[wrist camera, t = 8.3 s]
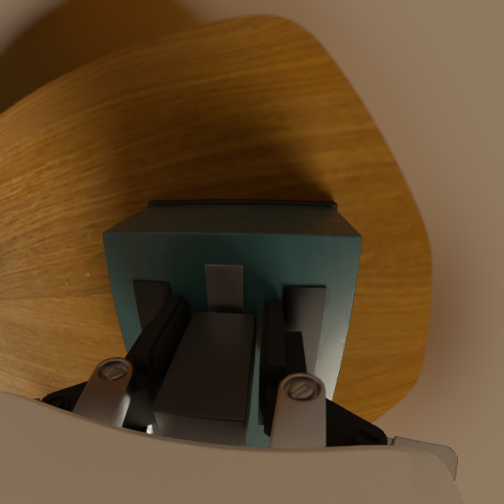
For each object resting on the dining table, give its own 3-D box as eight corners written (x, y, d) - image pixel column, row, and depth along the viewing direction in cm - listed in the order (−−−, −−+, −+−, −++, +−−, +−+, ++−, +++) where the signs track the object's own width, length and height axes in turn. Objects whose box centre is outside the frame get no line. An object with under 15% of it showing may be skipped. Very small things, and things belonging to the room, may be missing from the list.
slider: (256, 313, 11) (244, 420, 6) (255, 354, 12) (246, 459, 7) (193, 310, 11) (149, 409, 6) (198, 351, 12) (164, 449, 7)
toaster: (335, 201, 16) (369, 231, 10) (311, 394, 21) (318, 458, 15) (151, 200, 16) (95, 228, 11) (177, 387, 21) (156, 446, 15)
